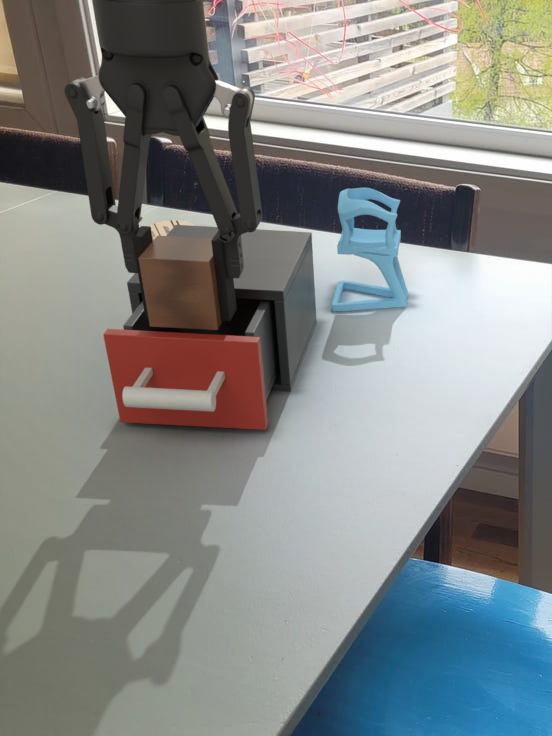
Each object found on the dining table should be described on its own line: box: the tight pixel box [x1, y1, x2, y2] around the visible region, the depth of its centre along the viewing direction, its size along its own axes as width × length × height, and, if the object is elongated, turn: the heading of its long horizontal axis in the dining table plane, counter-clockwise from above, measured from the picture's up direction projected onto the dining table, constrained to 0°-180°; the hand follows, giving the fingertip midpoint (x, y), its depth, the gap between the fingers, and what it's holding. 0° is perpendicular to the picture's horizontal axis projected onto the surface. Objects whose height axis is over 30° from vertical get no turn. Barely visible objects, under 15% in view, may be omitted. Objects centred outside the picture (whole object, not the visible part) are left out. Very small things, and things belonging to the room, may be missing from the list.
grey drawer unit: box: [126, 225, 317, 392], centre depth 97 cm, size 17×14×10 cm
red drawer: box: [103, 298, 280, 431], centre depth 87 cm, size 21×13×8 cm, turn 179°
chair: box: [331, 187, 409, 312], centre depth 109 cm, size 8×8×12 cm
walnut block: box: [139, 236, 223, 330], centre depth 82 cm, size 6×6×6 cm
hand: (191, 312), depth 84 cm, fingers closed on walnut block, 6 cm apart
